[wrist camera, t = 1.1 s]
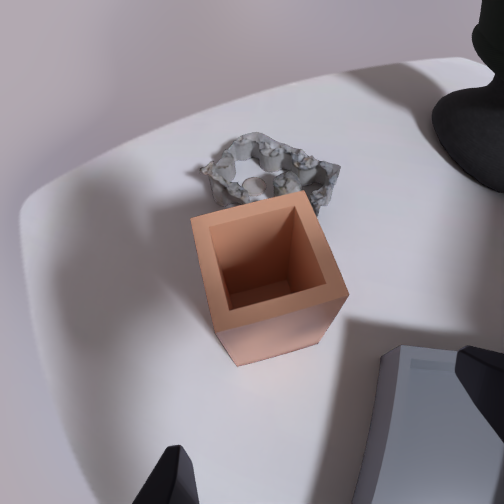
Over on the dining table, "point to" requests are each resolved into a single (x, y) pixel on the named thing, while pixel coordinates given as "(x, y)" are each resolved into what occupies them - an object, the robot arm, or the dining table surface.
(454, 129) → the candelabra
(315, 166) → the grey jagged ring
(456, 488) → the grey square tray
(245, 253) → the orange square container
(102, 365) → the dining table surface
